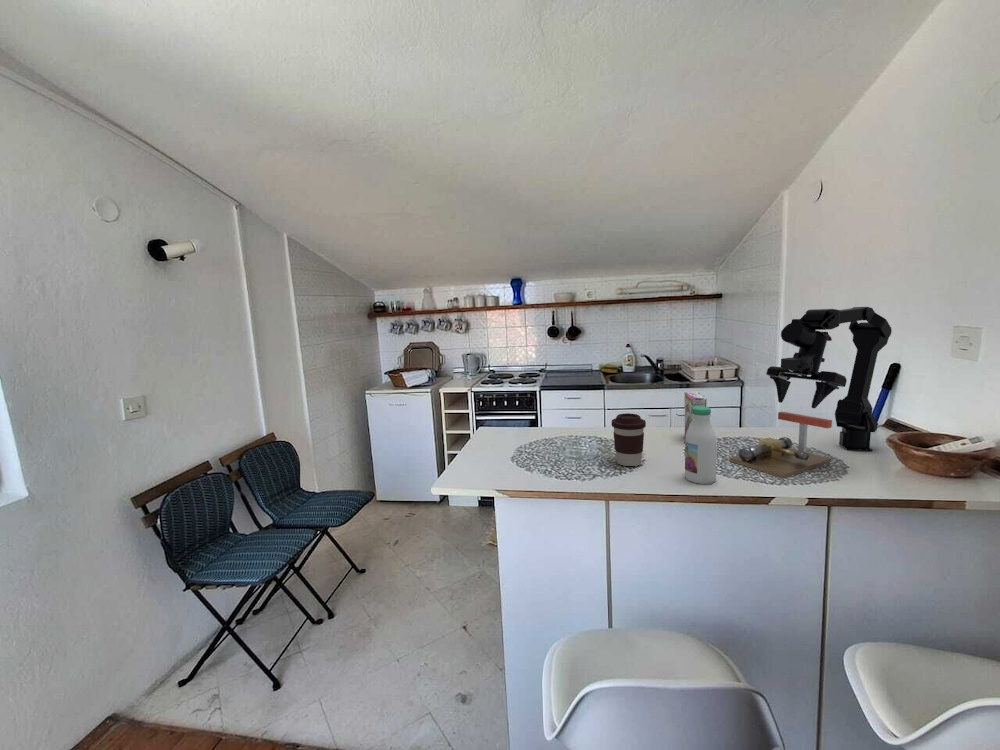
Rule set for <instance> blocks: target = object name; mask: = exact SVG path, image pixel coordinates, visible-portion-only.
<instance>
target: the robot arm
mask: <svg viewBox="0 0 1000 750" xmlns="http://www.w3.org/2000/svg"><path fill="white" fill-rule="evenodd" d="M862 321H864V322H862ZM846 323H847V324H848V323H850V324H849V325H848V329H849V332H851V334H852V343H853V344H854V346H855V348H856V354H855V358H854V359H855V360H854V362H853V368H852V373H851V377H850V382H849V386H848V390H847V395H846V396H845V397H843V399H838V400H837V404H836V409H835V410H834V412H835V413H834V418H835V424H836V427H837V428H838V427H839V428H841V431H839V442H838V445H839V446H843V448H844V449H845V450H848V451H869V452H872V451H873V448H871V435H872V434H871V433H876V431H878V427H879V426H878V425H879V423H878V422H877V420H876V419H875V417H874V415H873V406H872V405H871V402H870V401H869V393H870V389H871V384H872V380H873V376H874V372H875V368H876V367H875V366H876V363H877V358H878V353H879V352H880V351H881V350H882V349H883V348H884V347H885V346H886V345H888V341H889V338H890V337H891V335H892V327H891V325H890V324H889V322H888V320H887V319H886V318H885V317H883V316H881V315H880V314H878V313H876V312H875V310H874V309H873V307H870V306H854V307H850V308H844V309H836V308H835V309H834V308H820V309H819V308H818V309H808V310H806V311H805V313H804V314H803V315H802V316H801V318H792V319H791V323H788V324H786V325H785V326H784V327H783V328H782V330H781V332H780V338H781V339H782V341H783V342H785V343H788V344H790V345H792V346H794V347H797V348H799V349H798V352H794V353H793V356H792V357H784V358H783V357H782V358H780V366H769V367H768V368H767V370H766V373H765V375H766V376H768V377H769V378H770V379H772V380H773V381H774V383H775V386H776V393H777V402H778V403H780V404H781V403H783V402H784V400H785V397H786V395H787V393H788V391H789V388H790V386H791V383H792V382H791V381H789V380H790V379H792V378H793V379H800V380H811V381H815V387H816V389H815V392H814V396H813V398H812V401H811V408H812V409H816V408H817V407H818V406H819V405H820V404H821V403H822V402H823V401H824V400H825V399H826V398H827V397H828V396H829V395H830V394H831V393H833V392H834V391H836V390H839V389H840V387H842V388H844V387H846V386H847V385H846V384H847V377H846V376H845V375H842V374H840V373H838V372H835V371H826V370H823V371H822V370H821V371H819V370H820V366H821V363H825V361H826V358H825V357H824V353H825V349H826V345H827V342H832V340H833V338H832V337H831V336H830V335H829V332H828V331H826V330H834V329H836V328H838V327H839V326H840V325H841V324H846ZM821 330H822V331H821ZM824 330H825V331H824Z"/></svg>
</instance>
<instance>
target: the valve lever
mask: <svg viewBox="0 0 1000 750" xmlns="http://www.w3.org/2000/svg"><path fill="white" fill-rule="evenodd" d="M777 419H778V420H781V421H787V422H791V423H798V424H799V426H798V427H799V430H798V431H799V432H798V449H797V450H798V451H797V452H796V454H795V457H796V458H798V459H802V460H808V458H809V454H808V453H809V452H807V442H808V440H807V439H808V426H812V427H816V428H817V427H818V428H823V429H831V428H832V427H833V420H832V419H827V418H822V417H815V416H809V415H804V414H797V413H792V412H786V411H777ZM806 452H807V453H806Z"/></svg>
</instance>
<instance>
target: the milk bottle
mask: <svg viewBox="0 0 1000 750" xmlns="http://www.w3.org/2000/svg"><path fill="white" fill-rule="evenodd" d="M711 411H712V409H711V408H710V407H709V406H706V407H705V406H695V407H692V416H693V418H692V422H691V424H690V426H689V428H688V430H687V433H686V437H685V442H684V446H685V447H684V477H685V479H686V480H687V481H689V482H691V483H694V484H699V485H707V484H708V485H709V484H713V483H715V482H716V480H717V454H718V453H717V447H718V446H717V435H716V432H715V429H714V428H713V425H712V423H711V419H710V417H711V413H712V412H711Z"/></svg>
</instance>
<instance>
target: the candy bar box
mask: <svg viewBox="0 0 1000 750" xmlns="http://www.w3.org/2000/svg"><path fill="white" fill-rule="evenodd" d="M695 406H705V407H707V398H706V397H705V396H704V395H703V394H702V393H700V392H699V391H691V392H689V391H687V392H684V437H685V438H686V433H687V430H688V428H689V426H690V424H691V422H692V418H693V416H692V407H695Z"/></svg>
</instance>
